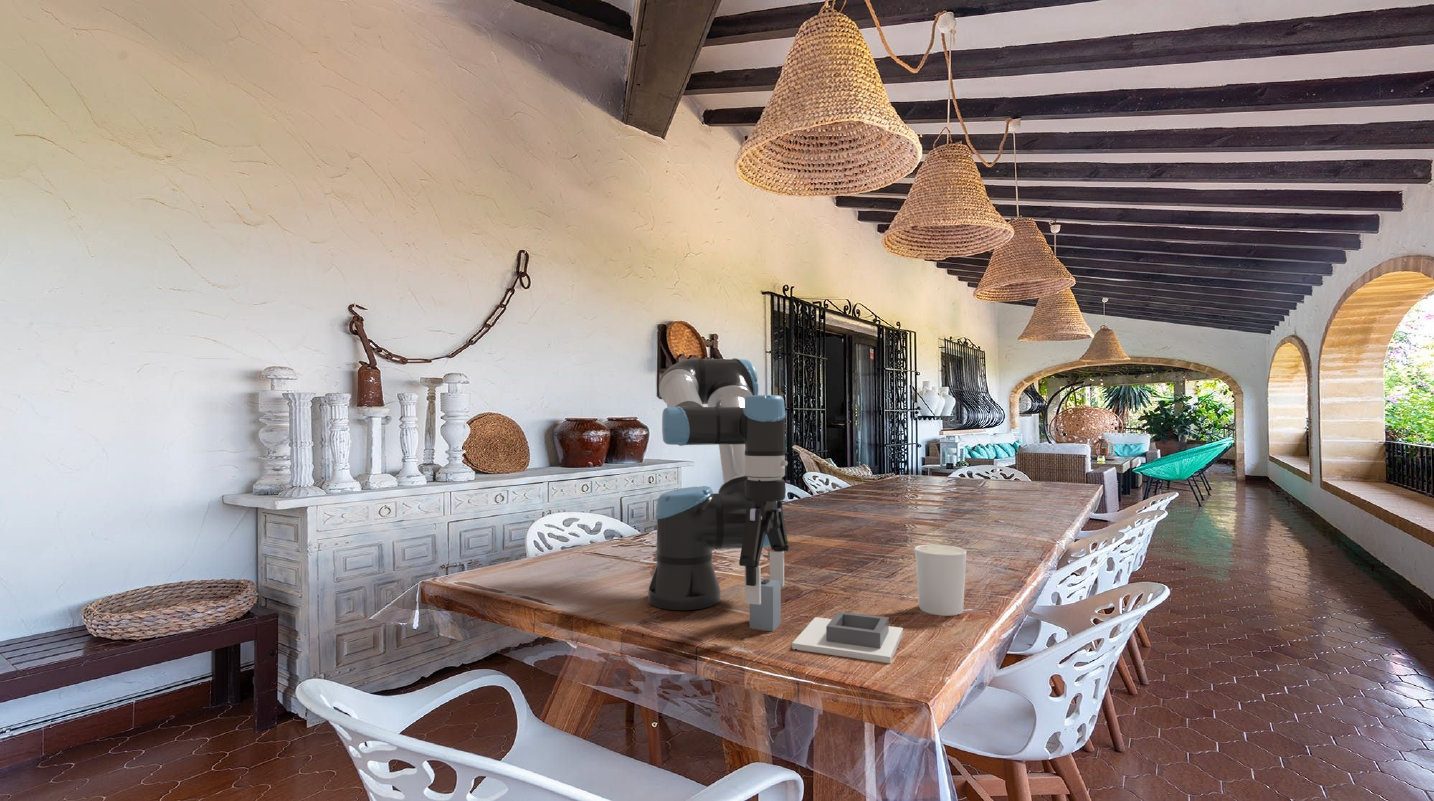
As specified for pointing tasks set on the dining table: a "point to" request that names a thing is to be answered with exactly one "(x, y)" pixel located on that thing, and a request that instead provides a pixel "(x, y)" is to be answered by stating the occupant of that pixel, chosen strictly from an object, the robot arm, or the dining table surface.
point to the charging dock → (851, 637)
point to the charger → (767, 607)
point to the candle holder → (940, 579)
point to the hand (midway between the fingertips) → (765, 594)
